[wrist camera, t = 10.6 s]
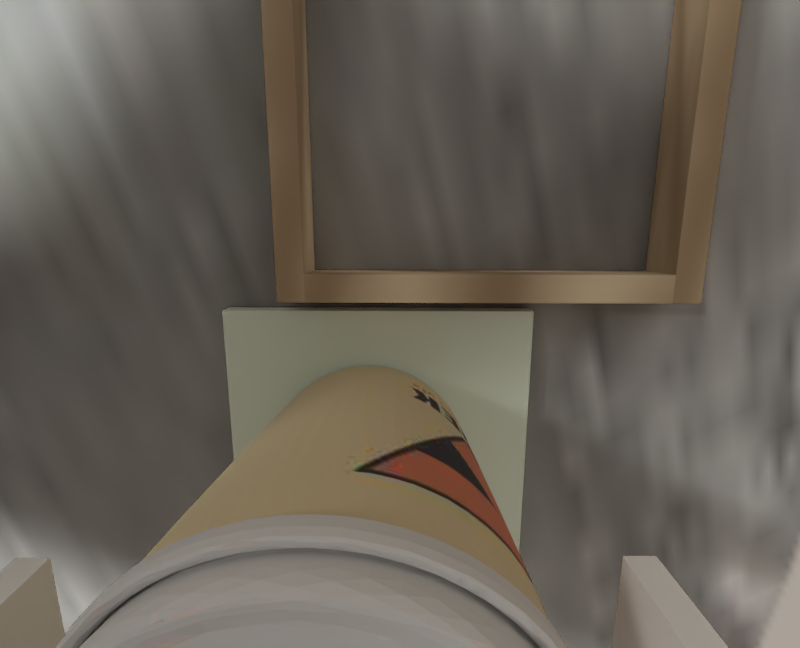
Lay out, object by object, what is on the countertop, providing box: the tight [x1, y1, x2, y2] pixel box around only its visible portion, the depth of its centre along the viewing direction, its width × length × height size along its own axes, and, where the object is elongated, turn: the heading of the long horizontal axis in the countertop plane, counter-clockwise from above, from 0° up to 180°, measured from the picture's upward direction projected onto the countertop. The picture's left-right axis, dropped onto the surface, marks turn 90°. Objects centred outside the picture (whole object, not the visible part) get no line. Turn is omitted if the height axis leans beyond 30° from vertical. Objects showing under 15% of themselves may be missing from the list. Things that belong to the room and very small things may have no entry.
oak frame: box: [261, 0, 742, 304], centre depth 15 cm, size 15×15×2 cm
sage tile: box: [222, 307, 534, 552], centre depth 19 cm, size 12×12×1 cm
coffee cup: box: [56, 365, 567, 648], centre depth 12 cm, size 9×9×12 cm
